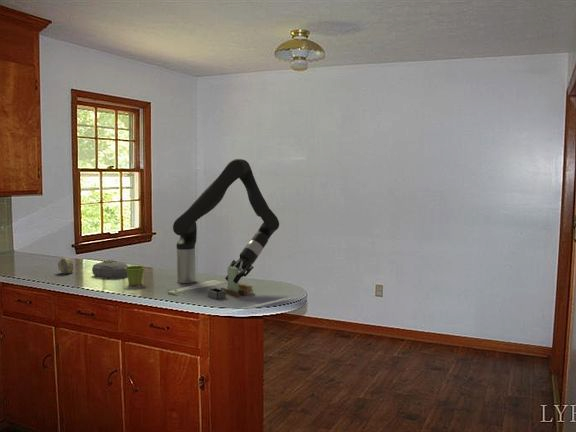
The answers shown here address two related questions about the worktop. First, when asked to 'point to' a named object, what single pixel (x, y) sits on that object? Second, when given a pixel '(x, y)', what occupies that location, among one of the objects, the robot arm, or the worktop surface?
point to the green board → (231, 275)
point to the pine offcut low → (248, 292)
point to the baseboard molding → (196, 286)
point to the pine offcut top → (244, 286)
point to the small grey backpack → (110, 269)
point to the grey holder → (216, 293)
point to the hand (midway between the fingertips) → (230, 281)
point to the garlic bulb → (65, 265)
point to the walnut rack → (235, 293)
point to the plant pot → (135, 274)
